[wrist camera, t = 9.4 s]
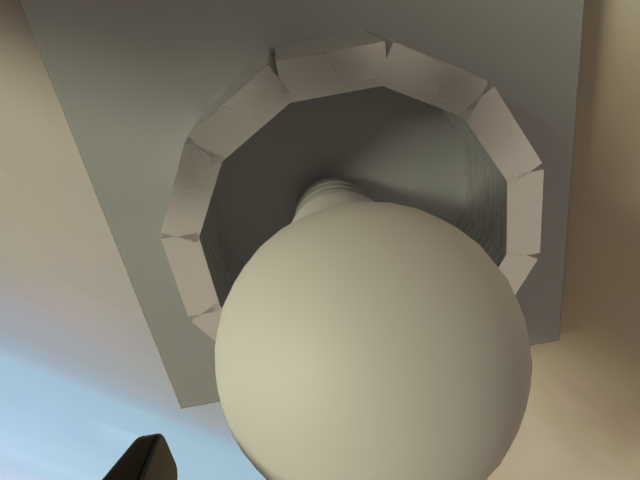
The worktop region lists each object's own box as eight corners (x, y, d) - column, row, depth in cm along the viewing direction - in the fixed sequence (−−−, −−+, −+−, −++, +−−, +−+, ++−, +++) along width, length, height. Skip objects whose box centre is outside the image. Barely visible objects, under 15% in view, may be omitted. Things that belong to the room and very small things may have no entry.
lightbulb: (274, 86, 15) (270, 255, 6) (448, 150, 17) (692, 378, 7) (219, 252, 18) (149, 576, 8) (375, 297, 19) (480, 621, 9)
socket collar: (144, 69, 15) (109, 91, 12) (493, 5, 15) (551, 11, 12) (230, 345, 20) (221, 413, 17) (493, 297, 20) (535, 356, 17)
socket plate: (35, -17, 15) (12, -17, 14) (565, -114, 15) (593, -124, 14) (187, 383, 22) (181, 408, 21) (541, 319, 22) (559, 340, 21)
